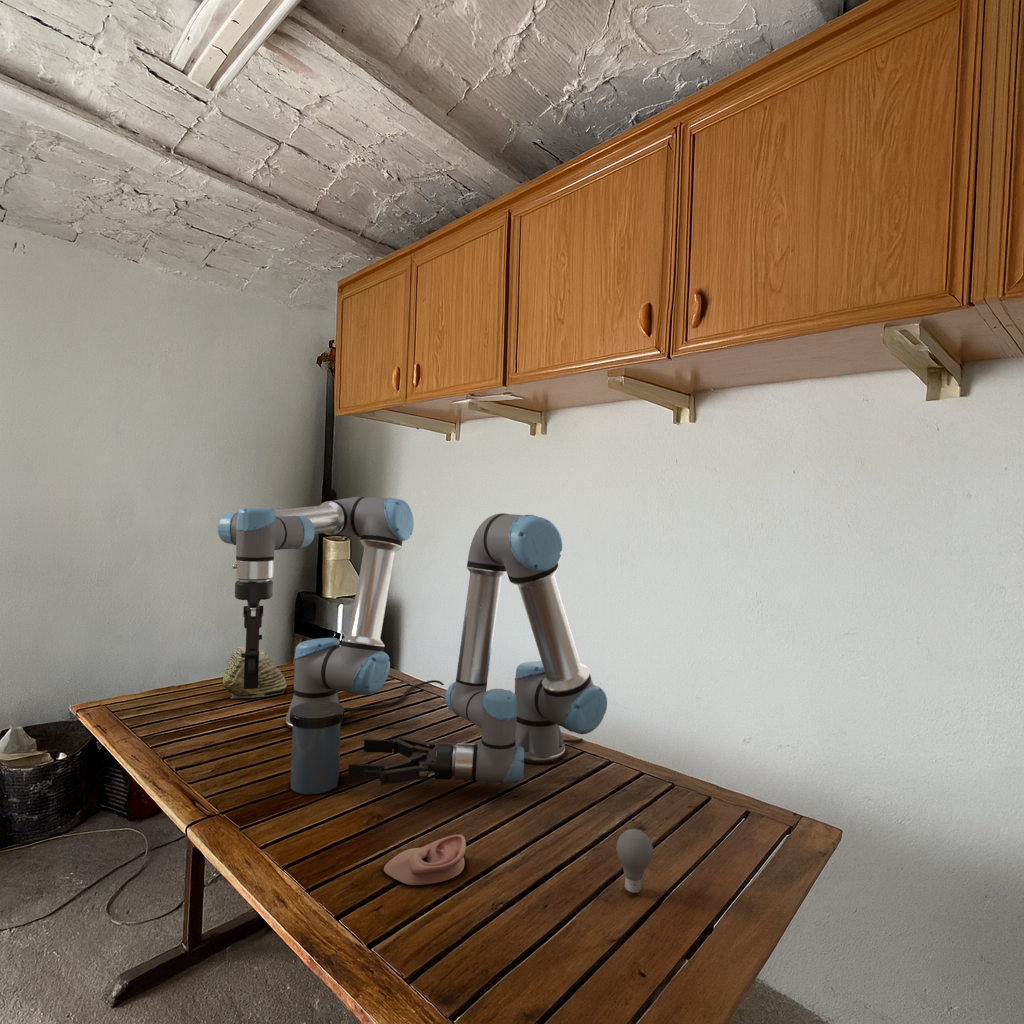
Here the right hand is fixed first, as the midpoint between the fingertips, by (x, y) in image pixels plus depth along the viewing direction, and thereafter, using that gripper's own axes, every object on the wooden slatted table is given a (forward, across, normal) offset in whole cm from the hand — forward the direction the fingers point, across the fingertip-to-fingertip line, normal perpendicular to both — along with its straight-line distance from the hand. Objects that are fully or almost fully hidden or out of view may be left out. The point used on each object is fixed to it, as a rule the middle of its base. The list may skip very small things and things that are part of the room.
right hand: (356, 757), depth 139 cm
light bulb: (-54, -34, -6) cm, 64 cm away
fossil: (+46, +59, -6) cm, 75 cm away
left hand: (+22, -3, +17) cm, 29 cm away
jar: (+9, +1, -6) cm, 11 cm away
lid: (+9, +1, +10) cm, 13 cm away
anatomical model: (-19, -29, -6) cm, 36 cm away
